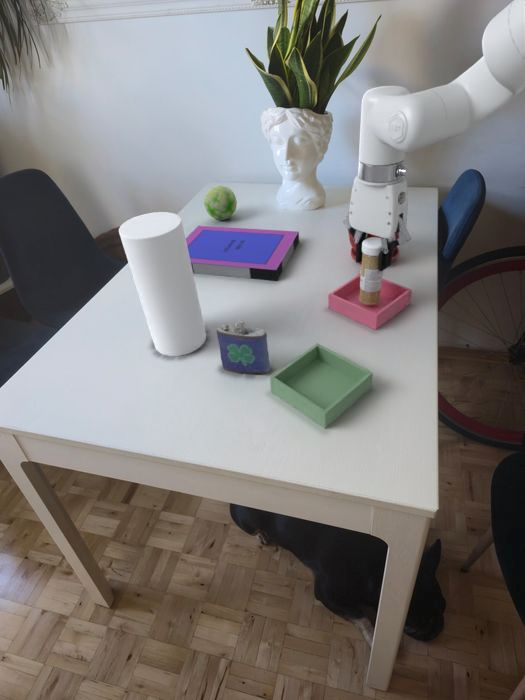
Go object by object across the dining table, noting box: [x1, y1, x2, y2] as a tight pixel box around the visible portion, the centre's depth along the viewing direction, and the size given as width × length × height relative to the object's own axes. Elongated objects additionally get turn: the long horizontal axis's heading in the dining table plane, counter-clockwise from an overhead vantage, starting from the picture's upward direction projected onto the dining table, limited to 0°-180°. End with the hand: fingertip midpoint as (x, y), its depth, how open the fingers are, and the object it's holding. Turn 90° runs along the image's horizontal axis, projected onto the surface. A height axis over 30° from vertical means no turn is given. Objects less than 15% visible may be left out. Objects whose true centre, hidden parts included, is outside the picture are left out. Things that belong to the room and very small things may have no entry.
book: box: [185, 225, 300, 282], centre depth 115 cm, size 21×3×30 cm
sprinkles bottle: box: [359, 237, 384, 305], centre depth 88 cm, size 5×5×13 cm
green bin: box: [269, 342, 374, 429], centre depth 74 cm, size 12×12×4 cm
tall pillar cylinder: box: [118, 211, 207, 357], centre depth 82 cm, size 11×11×25 cm
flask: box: [216, 319, 271, 376], centre depth 78 cm, size 9×3×11 cm, turn 74°
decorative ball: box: [203, 185, 238, 221], centre depth 133 cm, size 10×10×10 cm
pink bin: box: [327, 273, 413, 331], centre depth 92 cm, size 12×12×4 cm
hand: (372, 263), depth 87 cm, fingers closed on sprinkles bottle, 4 cm apart
